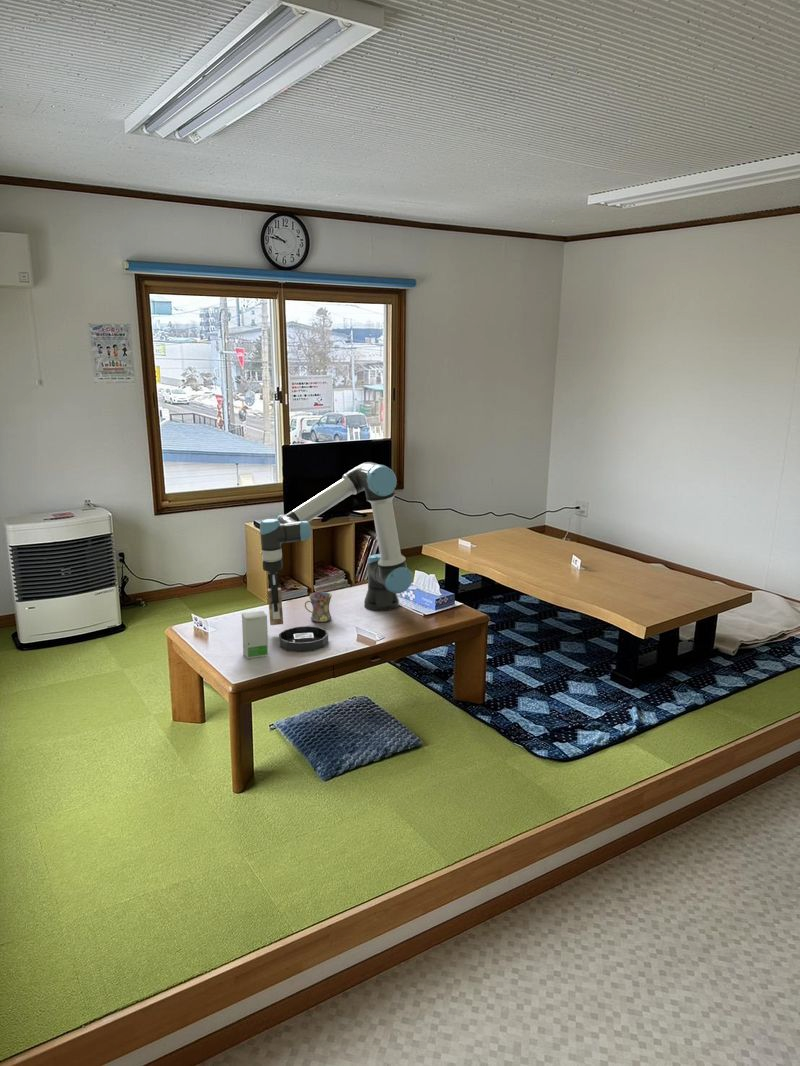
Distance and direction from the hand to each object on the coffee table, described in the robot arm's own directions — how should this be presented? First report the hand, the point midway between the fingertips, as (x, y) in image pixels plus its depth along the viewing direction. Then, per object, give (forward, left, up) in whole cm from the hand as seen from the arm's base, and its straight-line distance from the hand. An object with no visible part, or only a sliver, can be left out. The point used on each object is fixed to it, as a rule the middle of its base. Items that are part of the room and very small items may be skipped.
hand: (276, 617), depth 293 cm
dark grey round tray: (-9, +13, -7) cm, 17 cm away
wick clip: (-9, +13, -7) cm, 17 cm away
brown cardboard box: (0, 0, -3) cm, 3 cm away
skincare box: (+9, +20, -7) cm, 23 cm away
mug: (-17, -12, -7) cm, 22 cm away
